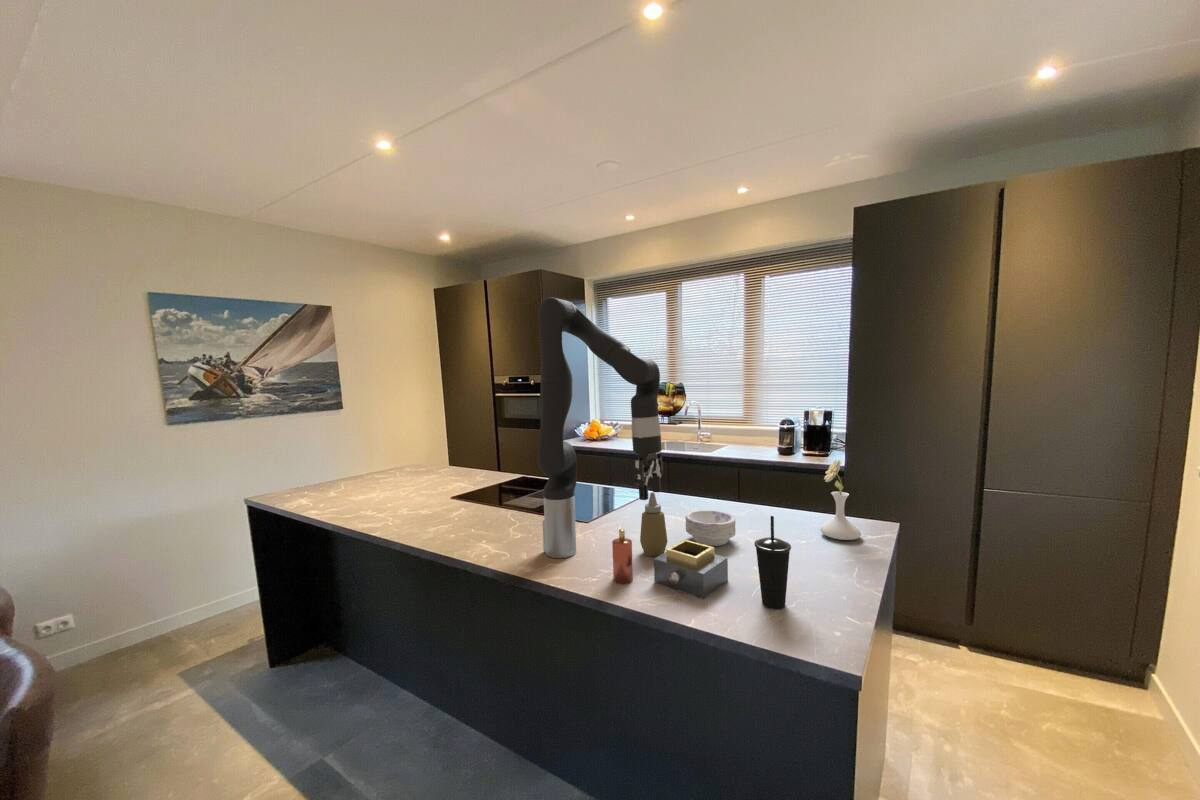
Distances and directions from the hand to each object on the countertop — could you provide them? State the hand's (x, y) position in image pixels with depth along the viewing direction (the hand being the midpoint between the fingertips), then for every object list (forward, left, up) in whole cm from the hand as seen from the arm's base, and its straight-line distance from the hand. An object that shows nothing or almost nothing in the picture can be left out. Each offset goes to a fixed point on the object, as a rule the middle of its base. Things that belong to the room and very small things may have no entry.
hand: (650, 495), depth 116 cm
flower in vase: (+30, +57, -21) cm, 68 cm away
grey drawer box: (+10, +2, -21) cm, 23 cm away
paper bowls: (0, +30, -21) cm, 37 cm away
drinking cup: (+30, +4, -21) cm, 37 cm away
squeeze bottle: (-8, +11, -21) cm, 25 cm away
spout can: (-4, -8, -21) cm, 23 cm away
